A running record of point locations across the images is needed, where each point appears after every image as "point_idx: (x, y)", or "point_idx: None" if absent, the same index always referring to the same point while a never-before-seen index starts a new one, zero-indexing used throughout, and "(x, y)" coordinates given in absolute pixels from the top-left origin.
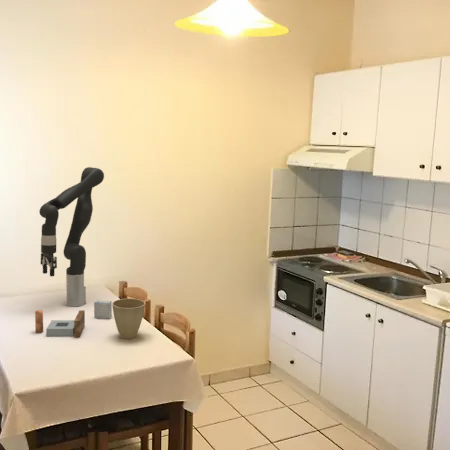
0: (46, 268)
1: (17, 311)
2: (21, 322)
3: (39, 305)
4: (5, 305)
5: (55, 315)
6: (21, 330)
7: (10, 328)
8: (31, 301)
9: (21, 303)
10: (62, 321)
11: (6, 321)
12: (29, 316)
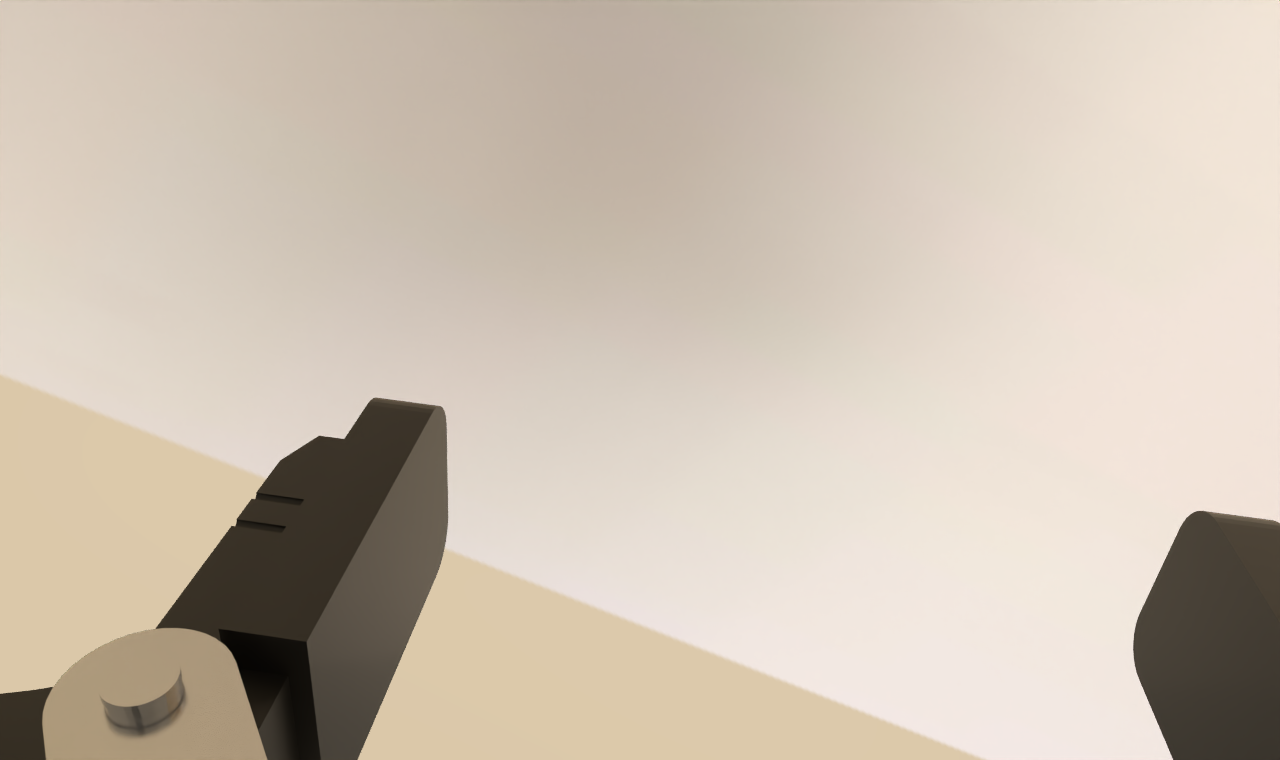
0: (360, 586)
1: (468, 418)
2: (935, 578)
3: (347, 21)
4: (101, 403)
5: (1076, 111)
6: None
7: (1018, 722)
8: (27, 6)
9: (88, 197)
10: None
11: (765, 656)
12: (793, 414)
